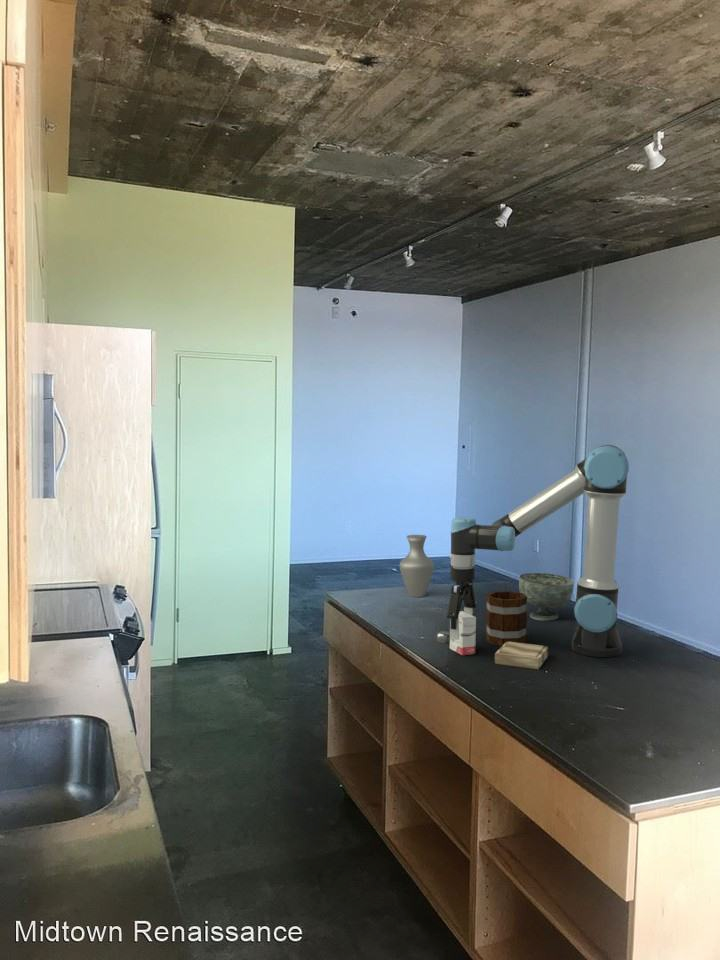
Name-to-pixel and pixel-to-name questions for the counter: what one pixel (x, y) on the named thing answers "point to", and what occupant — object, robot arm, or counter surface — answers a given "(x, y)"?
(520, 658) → the stand
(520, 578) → the bowl
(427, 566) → the vase
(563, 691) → the counter surface
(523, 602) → the mug
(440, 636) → the silver metal dome
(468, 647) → the ink box
